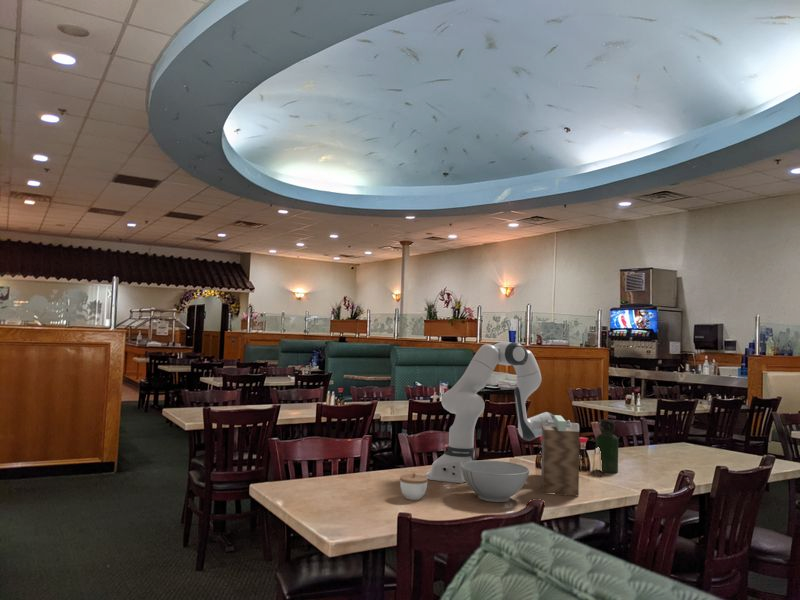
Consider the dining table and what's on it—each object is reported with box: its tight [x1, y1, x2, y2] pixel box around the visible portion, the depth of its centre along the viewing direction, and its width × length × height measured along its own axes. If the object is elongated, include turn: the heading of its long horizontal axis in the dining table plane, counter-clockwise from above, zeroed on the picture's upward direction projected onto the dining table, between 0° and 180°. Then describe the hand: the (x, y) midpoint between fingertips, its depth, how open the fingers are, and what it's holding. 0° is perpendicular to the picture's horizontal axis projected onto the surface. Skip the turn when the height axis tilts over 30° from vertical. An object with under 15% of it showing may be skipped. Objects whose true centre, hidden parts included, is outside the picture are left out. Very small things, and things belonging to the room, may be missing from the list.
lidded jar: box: [399, 472, 429, 501], centre depth 237 cm, size 11×11×9 cm
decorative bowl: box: [461, 460, 530, 503], centre depth 241 cm, size 27×27×12 cm
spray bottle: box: [595, 418, 619, 474], centre depth 302 cm, size 10×10×25 cm
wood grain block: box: [540, 426, 580, 496], centre depth 256 cm, size 14×12×26 cm
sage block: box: [553, 414, 566, 431], centre depth 261 cm, size 3×21×4 cm, turn 171°
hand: (557, 421), depth 269 cm, fingers open, 8 cm apart
